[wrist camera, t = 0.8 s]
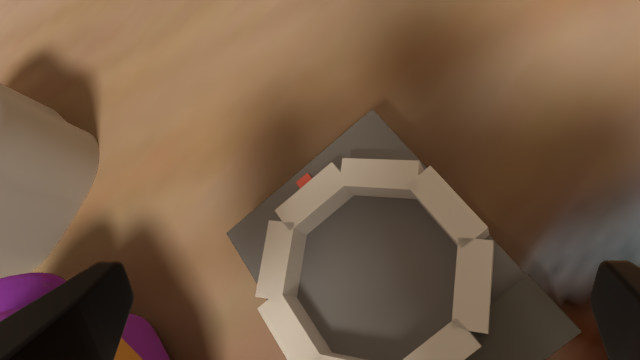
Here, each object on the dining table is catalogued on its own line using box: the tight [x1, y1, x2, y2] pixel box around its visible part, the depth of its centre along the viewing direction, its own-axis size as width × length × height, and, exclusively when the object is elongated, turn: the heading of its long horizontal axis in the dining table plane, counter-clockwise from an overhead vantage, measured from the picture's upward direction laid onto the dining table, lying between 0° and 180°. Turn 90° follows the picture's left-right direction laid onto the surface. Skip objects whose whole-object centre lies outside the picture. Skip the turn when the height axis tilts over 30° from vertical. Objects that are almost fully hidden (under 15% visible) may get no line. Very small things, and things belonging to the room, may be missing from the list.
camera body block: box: [227, 109, 582, 360], centre depth 20 cm, size 12×9×4 cm
